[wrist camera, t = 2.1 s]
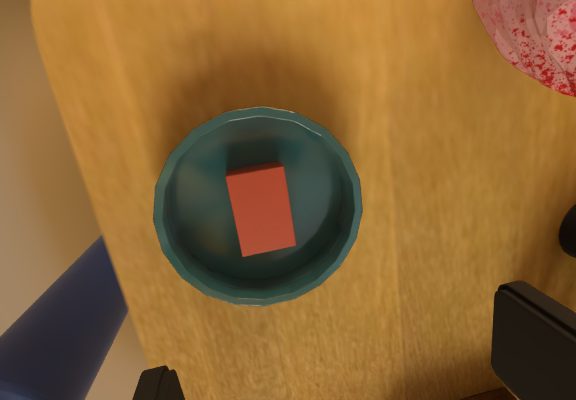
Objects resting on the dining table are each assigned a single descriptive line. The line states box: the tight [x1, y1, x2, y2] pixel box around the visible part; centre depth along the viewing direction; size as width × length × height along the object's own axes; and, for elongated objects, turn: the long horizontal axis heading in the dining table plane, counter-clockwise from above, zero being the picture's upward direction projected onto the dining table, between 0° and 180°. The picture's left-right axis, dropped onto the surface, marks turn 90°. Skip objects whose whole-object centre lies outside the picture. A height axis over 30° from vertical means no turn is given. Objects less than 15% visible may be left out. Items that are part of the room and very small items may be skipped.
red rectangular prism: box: [226, 161, 296, 257], centre depth 24 cm, size 6×4×2 cm, turn 9°
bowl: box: [153, 106, 362, 306], centre depth 24 cm, size 14×14×4 cm
